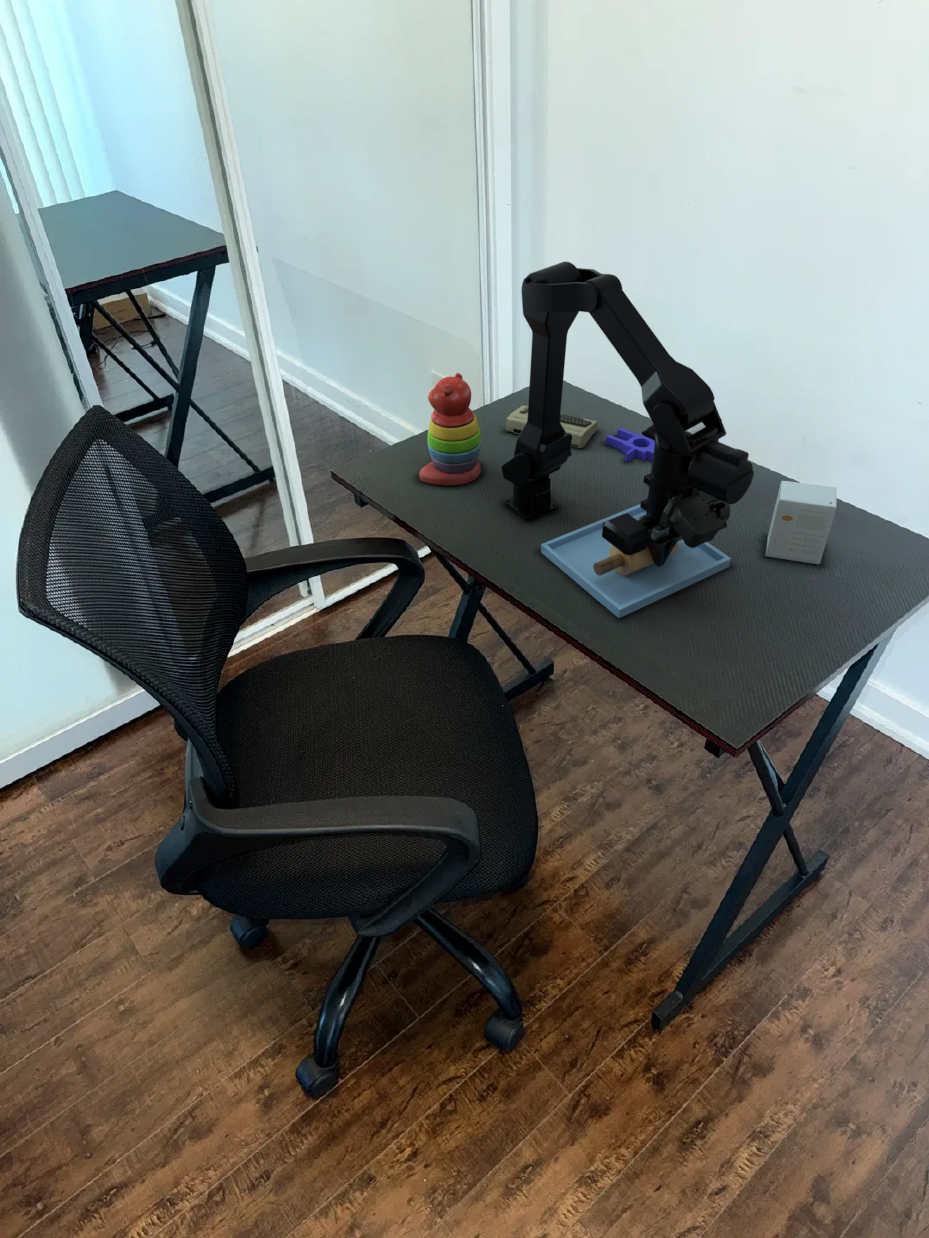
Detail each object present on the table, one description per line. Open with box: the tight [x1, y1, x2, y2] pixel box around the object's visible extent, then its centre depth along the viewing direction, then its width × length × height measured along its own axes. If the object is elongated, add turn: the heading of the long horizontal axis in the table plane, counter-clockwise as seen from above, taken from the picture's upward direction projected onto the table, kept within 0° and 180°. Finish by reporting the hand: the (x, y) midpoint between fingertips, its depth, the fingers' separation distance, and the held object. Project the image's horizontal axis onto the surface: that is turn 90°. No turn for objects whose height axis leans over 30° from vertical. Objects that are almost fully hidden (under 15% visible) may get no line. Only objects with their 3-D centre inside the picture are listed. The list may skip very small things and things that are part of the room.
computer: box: [505, 404, 599, 449], centre depth 157 cm, size 16×8×3 cm, turn 61°
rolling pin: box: [593, 537, 683, 576], centre depth 124 cm, size 5×18×5 cm, turn 121°
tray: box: [540, 503, 732, 619], centre depth 126 cm, size 19×21×2 cm
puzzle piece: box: [605, 427, 655, 462], centre depth 151 cm, size 10×12×2 cm
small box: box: [765, 480, 837, 565], centre depth 124 cm, size 8×6×10 cm
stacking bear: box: [418, 372, 482, 486], centre depth 142 cm, size 11×10×18 cm
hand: (658, 565), depth 122 cm, fingers closed, pressing on rolling pin
